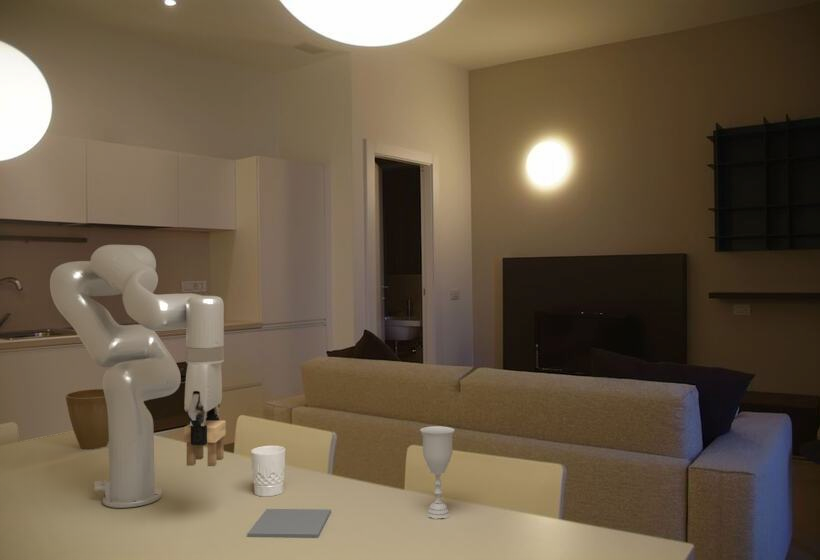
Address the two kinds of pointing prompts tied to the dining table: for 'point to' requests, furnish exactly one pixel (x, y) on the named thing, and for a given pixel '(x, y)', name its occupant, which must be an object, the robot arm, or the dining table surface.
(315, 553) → the dining table surface
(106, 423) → the plant pot
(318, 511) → the mat
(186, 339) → the robot arm
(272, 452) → the white cup
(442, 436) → the chalice
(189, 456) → the stool
